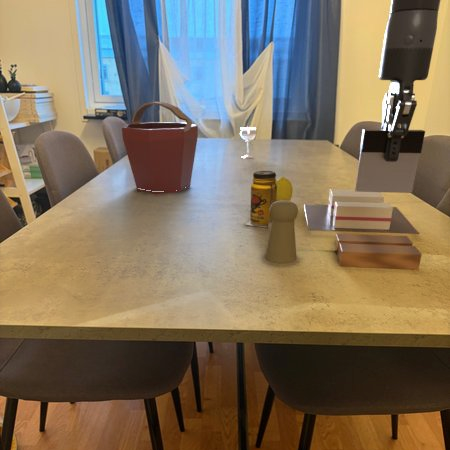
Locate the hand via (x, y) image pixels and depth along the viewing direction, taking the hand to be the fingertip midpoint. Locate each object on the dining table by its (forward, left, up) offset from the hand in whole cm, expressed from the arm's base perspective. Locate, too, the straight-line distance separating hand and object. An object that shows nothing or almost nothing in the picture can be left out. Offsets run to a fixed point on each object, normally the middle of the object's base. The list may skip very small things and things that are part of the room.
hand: (388, 159), depth 76 cm
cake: (0, -27, -17) cm, 32 cm away
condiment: (+22, -20, -19) cm, 35 cm away
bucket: (+56, -53, -19) cm, 79 cm away
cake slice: (0, -16, -17) cm, 24 cm away
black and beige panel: (0, 0, -6) cm, 6 cm away
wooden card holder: (0, +1, -18) cm, 18 cm away
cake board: (0, -23, -18) cm, 30 cm away
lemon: (+18, -35, -19) cm, 44 cm away
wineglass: (+33, -116, -19) cm, 122 cm away
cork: (+18, +3, -19) cm, 26 cm away
